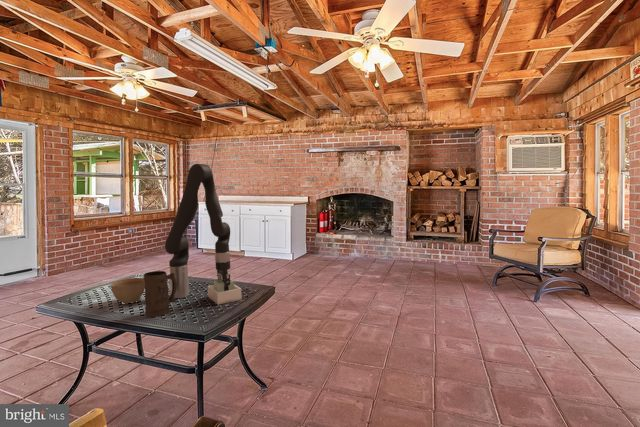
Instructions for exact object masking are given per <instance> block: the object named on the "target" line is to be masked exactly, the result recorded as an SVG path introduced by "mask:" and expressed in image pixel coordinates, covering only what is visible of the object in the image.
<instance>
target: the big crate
mask: <svg viewBox="0 0 640 427" xmlns="http://www.w3.org/2000/svg"><path fill="white" fill-rule="evenodd" d="M234 288H235V289H234V290H229V291H224V292H219V293H218V292H217V291H216V290H214V284H213V285H212V284H211V285H208V286H207V297H208V299H210V300H211V301H213V302H214V303H215V304H217V305H218V306H219V305H223V304H228V303H234V302H236V301H237V302H238V301H241V300H242V299H243V297H242V288H241V287H240V286H238V285H237V284H235V283H234Z"/></svg>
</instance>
